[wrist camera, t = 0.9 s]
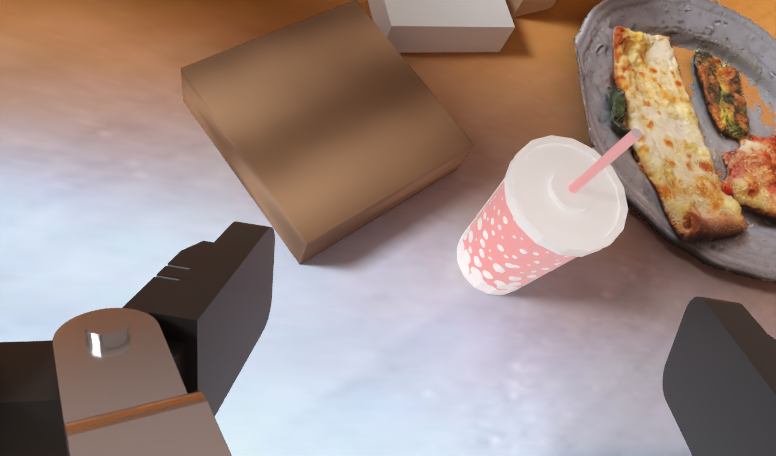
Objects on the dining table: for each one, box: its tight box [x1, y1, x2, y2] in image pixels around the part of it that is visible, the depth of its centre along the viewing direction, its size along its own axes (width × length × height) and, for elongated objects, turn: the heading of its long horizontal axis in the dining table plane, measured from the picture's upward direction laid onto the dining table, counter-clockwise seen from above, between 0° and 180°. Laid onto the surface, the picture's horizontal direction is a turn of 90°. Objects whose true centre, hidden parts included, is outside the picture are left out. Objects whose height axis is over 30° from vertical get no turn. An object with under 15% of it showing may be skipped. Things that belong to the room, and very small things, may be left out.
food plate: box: [574, 0, 776, 283], centre depth 44 cm, size 25×23×4 cm
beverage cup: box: [457, 128, 642, 295], centre depth 30 cm, size 6×6×14 cm
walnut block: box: [181, 0, 474, 264], centre depth 35 cm, size 12×12×3 cm
